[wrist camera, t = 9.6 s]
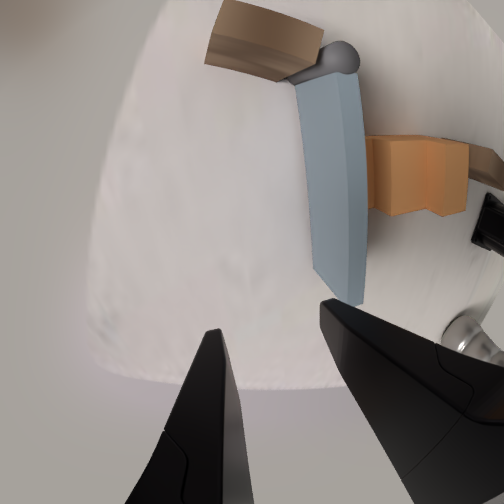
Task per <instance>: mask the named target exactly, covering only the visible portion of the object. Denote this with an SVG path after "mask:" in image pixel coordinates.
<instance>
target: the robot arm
mask: <svg viewBox="0 0 504 504" xmlns="http://www.w3.org/2000/svg"><path fill="white" fill-rule="evenodd" d="M471 242H472V243H473V244H475V245H478V246H480V247H482V248H485V249H487V250H489V251H491V250H493V251H495V252H497V253H498V254H500V255H501V256H503V257H504V204H502V203H501V202H500V201H499V200H498V199H497V198H496V197H495V196H493V195H492V194H491V193H487V194H486V197H485V201H484V204H483V207H482V211H481V214H480V217H479V220H478V223H477V225H476V228H475V231H474V234H473V236H472V239H471ZM320 328H321V331H322V333H323V336H324V338H325V340H326V342H327V345H328V347H329V349H330V352H331V354H332V356H333V359H334V361H335V363H336V366H337V368H338V370H339V372H340V374H341V376H342V378H343V379H344V381H345V383H346V384H347V386H348V388H349V390H350V391H351V393H352V395H353V396H354V398H355V400H356V401H357V403H358V405H359V407H360V408H361V410H362V412H363V414H364V415H365V417H366V419H367V420H368V422H369V424H370V425H371V427H372V429H373V431H374V433H375V434H376V436H377V438H378V440H379V441H380V443H381V445H382V447H383V448H384V450H385V452H386V454H387V456H388V457H389V459H390V461H391V462H392V464H393V466H394V468H395V470H396V471H397V473H398V475H399V477H400V479H401V481H402V483H403V484H404V486H405V488H406V490H407V491H408V493H409V495H410V497H411V499H412V500H413V502H414V504H504V367H502V366H499V365H495V364H492V363H489V362H486V361H482V360H479V359H476V358H473V357H470V356H467V355H464V354H462V353H459V352H457V351H454V350H452V349H449V348H447V347H444V346H442V345H440V344H437V343H434V342H433V341H430V340H428V339H426V338H423V337H421V336H419V335H417V334H414V333H412V332H410V331H407V330H405V329H403V328H401V327H398V326H396V325H394V324H391V323H389V322H387V321H385V320H382V319H380V318H378V317H376V316H373V315H371V314H369V313H367V312H364V311H362V310H360V309H358V308H355V307H353V306H351V305H349V304H346V303H344V302H342V301H340V300H337V299H335V298H331V299H328V300H325V301H322V302H321V303H320ZM164 430H165V431H166V432H165V431H163V432H162V434H161V436H160V439H159V441H158V444H157V446H156V448H155V450H154V452H153V454H152V457H151V459H150V461H149V463H148V464H147V466H146V468H145V470H144V472H143V474H142V475H141V477H140V479H139V480H138V482H137V484H136V486H135V487H134V489H133V491H132V492H131V494H130V496H129V497H128V499H127V500H126V502H125V504H254V500H253V493H252V486H251V479H250V473H249V465H248V458H247V451H246V443H245V437H244V436H245V435H244V428H243V419H242V412H241V404H240V399H239V394H238V390H237V386H236V383H235V379H234V375H233V371H232V367H231V362H230V358H229V354H228V350H227V347H226V344H225V340H224V337H223V333H222V330H221V329H219V328H218V329H214V330H209V331H207V332H206V333H205V335H204V337H203V339H202V342H201V344H200V346H199V348H198V351H197V353H196V355H195V358H194V360H193V362H192V364H191V367H190V369H189V371H188V374H187V376H186V378H185V381H184V383H183V385H182V388H181V390H180V392H179V395H178V397H177V399H176V402H175V404H174V406H173V408H172V411H171V413H170V416H169V418H168V420H167V423H166V425H165V427H164Z"/></svg>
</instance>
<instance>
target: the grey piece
mask: <svg viewBox="0 0 504 504" xmlns="http://www.w3.org/2000/svg"><path fill="white" fill-rule="evenodd" d="M359 66H360V58H359V55H358V53H357V51H356V50H355V48H354V47H353V46H352V45H350V44H349V43H347V42H344V41H336V42H333V43H331V44H329V45H327V46H325V47H323V48H321V49H319V52H318V56H317V59H316V63H315V64H314V65H312V66H310V67H307V68H305V69H303V70H301V71H298V72H296V73H294V74H292V75H290V76H288V77H287V79H288V80H289V82H290V83H291V84H292V85H294V86H295V90H296V96H297V103H298V110H299V117H300V124H301V132H302V140H303V149H304V157H305V167H306V176H307V187H308V198H309V210H310V223H311V237H312V254H313V269H314V270H315V271H316V272H317V274H318V275H319V276H320V277H321V278H322V280H323V281H324V282H325V283H326V285H327V286H328V287H329V288H330V289H331V291H332V292H333V293H334V294H335V295H336V297H337V298H338V299H339V300H340V301H342V302H344V303H346V304H349V305H351V306H353V307H355V306H357V305H360V304H363V299H364V288H365V274H366V257H367V227H368V193H367V163H366V147H365V134H364V122H363V113H362V104H361V96H360V88H359V82H358V75H357V73H355V72H356V71H357V70H358V68H359Z"/></svg>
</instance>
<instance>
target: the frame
mask: <svg viewBox="0 0 504 504" xmlns="http://www.w3.org/2000/svg"><path fill="white" fill-rule="evenodd" d="M323 33H324V30H323V29H320V28H318V27H316V26H313V25H311V24H308V23H306V22H303V21H301V20H298V19H295V18H293V17H290V16H287V15H284V14H281V13H278V12H275V11H272V10H269V9H266V8H262V7H259V6H255V5H252V4H248V3H244V2H240V1H236V0H224V1H223V3H222V6H221V9H220V11H219V14H218V16H217V19H216V22H215V25H214V27H213V30H212V33H211V37H210V41H209V45H208V49H207V53H206V58H205V62H204V64H208V65H213V66H218V67H222V68H227V69H231V70H235V71H239V72H243V73H247V74H250V75H254V76H258V77H261V78H264V79H268V80H271V81H274V82H277V81H279V80H282V79H284V78H286V77H288V76H290V75H292V74H294V73H296V72H298V71H301V70H303V69H305V68H307V67H310V66H312V65H314V64H315V63H316V59H317V56H318V52H319V48H320V44H321V41H322V37H323ZM441 139H445V138H441ZM445 140H450V139H445ZM450 141H455V140H450ZM455 142H460V141H455ZM460 143H464V142H460ZM464 144H469V143H464ZM468 178H470V179H473V180H476V181H478V182H481V183H484V184H486V185H489V186H492V187H494V188H497V189H499V190H502V191H504V162H503V160H502V159H501V158H500V157H499V156H498V155H497V154H496V153H495V151H494V150H493V149H489V148H485V147H481V146H477V145H473V144H469V170H468Z"/></svg>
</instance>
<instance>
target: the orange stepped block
mask: <svg viewBox="0 0 504 504" xmlns="http://www.w3.org/2000/svg"><path fill="white" fill-rule="evenodd" d="M365 147H366V163H367V193H368V209H370V208H376V209H378V210H380V211H382V212H384V213H386V214H387V215H389V216H395V215H400V214H404V213H409V212H413V211H418V210H422V209H427V210H429V211H432V212H434V213H436V214H438V215H440V216H442V217H443V216H447V215H451V214H455V213H459V212H462V211H465V210H466V200H467V188H468V170H469V144H464V143H460V142H455V141H450V140H445V139H439V138H434V137H428V136H422V135H382V136H365Z"/></svg>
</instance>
